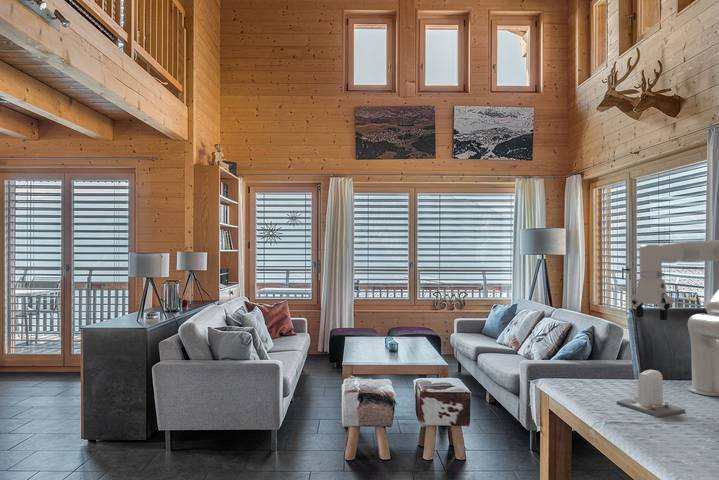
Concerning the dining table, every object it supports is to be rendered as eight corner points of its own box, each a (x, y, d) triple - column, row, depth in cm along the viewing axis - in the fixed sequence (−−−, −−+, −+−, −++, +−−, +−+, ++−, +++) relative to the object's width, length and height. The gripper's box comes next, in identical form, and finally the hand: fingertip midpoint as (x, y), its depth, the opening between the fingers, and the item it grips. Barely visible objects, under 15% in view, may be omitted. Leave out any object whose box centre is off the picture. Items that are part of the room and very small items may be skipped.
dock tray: (642, 399, 181) (642, 392, 181) (685, 412, 166) (685, 404, 167) (616, 403, 176) (616, 397, 176) (658, 417, 161) (658, 409, 161)
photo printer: (652, 401, 175) (652, 367, 176) (665, 404, 172) (664, 369, 172) (636, 405, 170) (636, 370, 171) (648, 408, 166) (648, 373, 167)
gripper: (678, 276, 182) (679, 320, 181) (636, 274, 198) (637, 315, 197) (665, 276, 179) (666, 321, 178) (624, 274, 195) (625, 316, 194)
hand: (651, 318), depth 188 cm, fingers open, 9 cm apart
